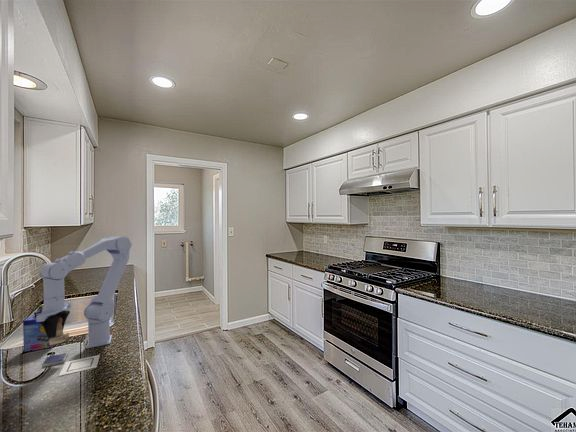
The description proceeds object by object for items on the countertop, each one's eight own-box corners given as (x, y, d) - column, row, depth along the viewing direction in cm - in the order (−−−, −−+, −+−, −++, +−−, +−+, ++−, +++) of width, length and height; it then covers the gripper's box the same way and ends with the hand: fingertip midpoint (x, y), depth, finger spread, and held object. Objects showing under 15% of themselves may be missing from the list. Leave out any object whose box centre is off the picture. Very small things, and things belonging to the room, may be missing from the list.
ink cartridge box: (22, 352, 107) (21, 314, 107) (29, 346, 112) (28, 310, 112) (54, 347, 111) (54, 310, 111) (59, 341, 116) (59, 306, 116)
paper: (65, 362, 98) (65, 361, 98) (100, 355, 103) (99, 354, 103) (58, 376, 89) (58, 375, 89) (96, 367, 94) (96, 367, 94)
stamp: (57, 342, 101) (53, 316, 101) (69, 339, 101) (65, 313, 102) (49, 346, 97) (45, 319, 97) (62, 343, 97) (58, 317, 98)
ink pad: (47, 359, 100) (47, 356, 100) (67, 355, 103) (67, 352, 103) (41, 367, 95) (41, 364, 95) (64, 362, 98) (64, 359, 98)
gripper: (52, 301, 93) (53, 342, 93) (78, 290, 107) (79, 326, 107) (28, 303, 92) (29, 344, 92) (58, 291, 106) (59, 327, 106)
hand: (55, 334), depth 99 cm, fingers closed on stamp, 3 cm apart
